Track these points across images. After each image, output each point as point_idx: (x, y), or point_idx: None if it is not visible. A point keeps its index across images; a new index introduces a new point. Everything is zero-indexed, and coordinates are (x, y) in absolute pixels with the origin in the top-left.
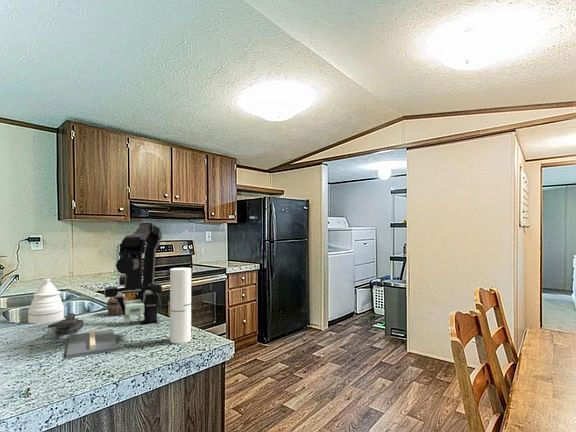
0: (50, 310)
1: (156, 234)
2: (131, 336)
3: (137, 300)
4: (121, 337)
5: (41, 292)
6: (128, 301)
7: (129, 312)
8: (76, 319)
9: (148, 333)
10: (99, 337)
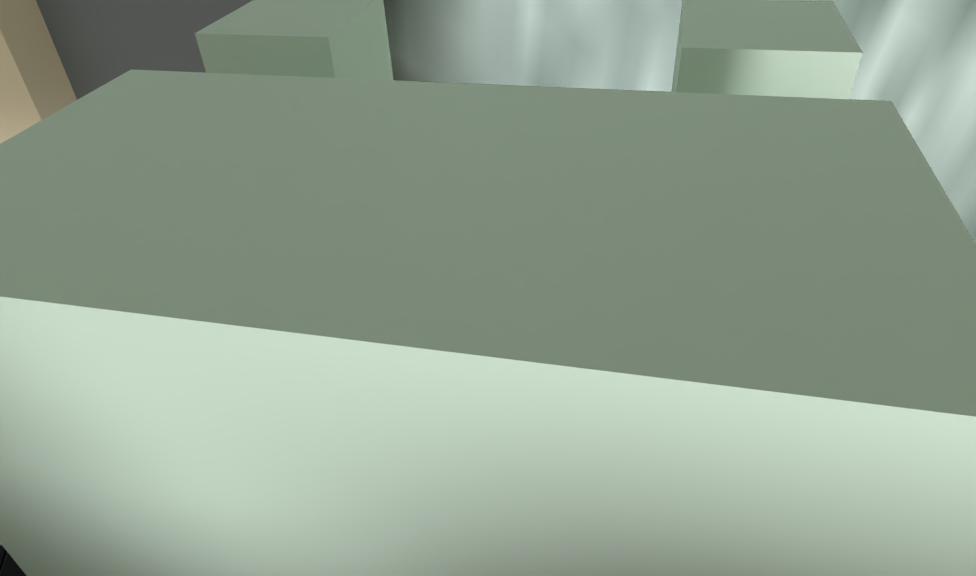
0: None
1: None
2: (568, 57)
3: (696, 519)
4: (417, 24)
5: None
6: (127, 445)
7: None
8: None
9: (886, 31)
10: (98, 19)
